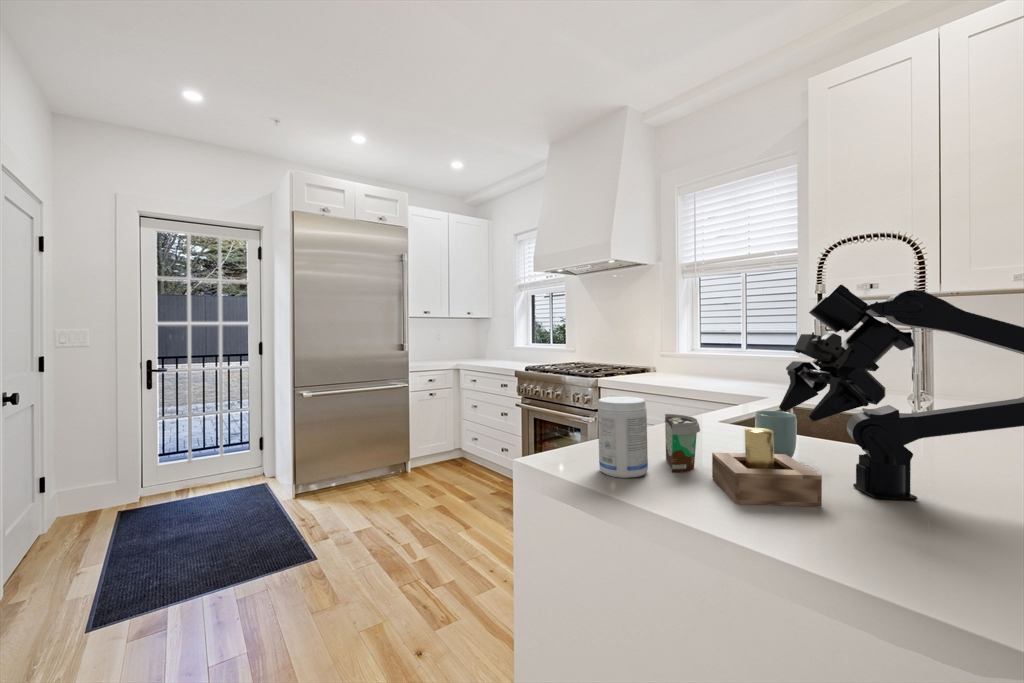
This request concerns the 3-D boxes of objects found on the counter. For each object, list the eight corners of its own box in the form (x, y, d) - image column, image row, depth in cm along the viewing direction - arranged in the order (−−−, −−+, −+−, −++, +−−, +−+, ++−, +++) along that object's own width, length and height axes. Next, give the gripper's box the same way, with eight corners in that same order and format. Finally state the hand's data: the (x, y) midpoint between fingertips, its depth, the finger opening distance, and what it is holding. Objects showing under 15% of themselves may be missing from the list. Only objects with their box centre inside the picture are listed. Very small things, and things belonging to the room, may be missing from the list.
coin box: (785, 480, 86) (785, 454, 86) (821, 506, 73) (821, 475, 73) (712, 478, 88) (712, 452, 88) (735, 503, 75) (735, 473, 75)
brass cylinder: (773, 484, 82) (772, 428, 81) (775, 493, 78) (774, 434, 77) (745, 481, 84) (744, 427, 83) (746, 490, 80) (745, 433, 79)
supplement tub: (645, 466, 97) (644, 396, 96) (650, 480, 87) (649, 403, 87) (598, 464, 98) (597, 395, 98) (598, 478, 89) (597, 402, 89)
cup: (762, 463, 98) (763, 416, 98) (750, 453, 105) (750, 410, 105) (802, 464, 96) (803, 417, 96) (787, 454, 104) (787, 410, 104)
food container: (706, 476, 89) (706, 425, 89) (672, 474, 91) (672, 424, 90) (694, 459, 101) (694, 414, 101) (665, 458, 103) (664, 413, 102)
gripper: (796, 319, 89) (738, 376, 90) (865, 315, 70) (791, 388, 71) (838, 359, 88) (779, 416, 89) (919, 367, 70) (843, 439, 71)
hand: (795, 414), depth 80 cm, fingers open, 9 cm apart
